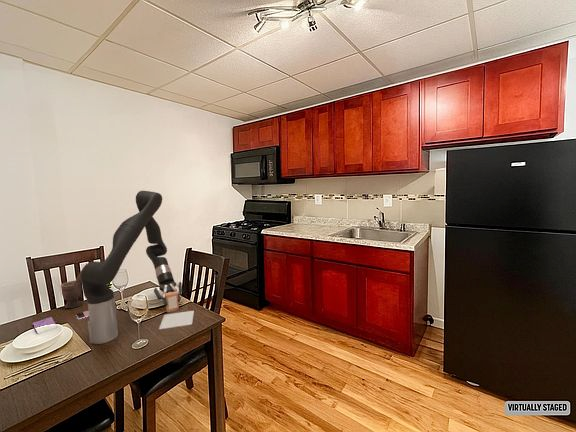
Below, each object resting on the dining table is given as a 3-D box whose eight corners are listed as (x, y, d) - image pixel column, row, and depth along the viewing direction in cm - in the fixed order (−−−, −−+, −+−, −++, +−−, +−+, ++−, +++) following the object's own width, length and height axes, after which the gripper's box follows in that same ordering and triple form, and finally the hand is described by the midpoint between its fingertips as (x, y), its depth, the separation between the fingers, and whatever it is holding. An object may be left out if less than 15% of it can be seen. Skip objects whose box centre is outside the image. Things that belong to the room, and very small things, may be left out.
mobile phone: (75, 313, 136) (109, 303, 147) (75, 315, 137) (109, 305, 147) (78, 318, 131) (113, 307, 142) (78, 320, 131) (113, 309, 142)
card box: (166, 311, 138) (164, 294, 137) (177, 307, 142) (175, 291, 141) (167, 312, 136) (166, 295, 135) (178, 309, 140) (177, 292, 139)
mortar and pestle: (88, 299, 155) (84, 266, 153) (92, 303, 149) (87, 269, 147) (62, 306, 146) (58, 271, 144) (65, 311, 141) (60, 274, 138)
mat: (158, 329, 120) (158, 329, 120) (164, 315, 133) (164, 314, 133) (191, 324, 124) (191, 324, 124) (194, 311, 137) (194, 310, 137)
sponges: (52, 320, 133) (51, 316, 132) (57, 328, 124) (56, 324, 124) (32, 326, 127) (32, 322, 127) (37, 335, 119) (36, 331, 119)
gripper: (150, 274, 138) (159, 304, 130) (179, 268, 147) (188, 296, 139) (149, 282, 143) (157, 311, 135) (176, 275, 152) (185, 302, 144)
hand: (173, 303), depth 137 cm, fingers closed on card box, 5 cm apart
